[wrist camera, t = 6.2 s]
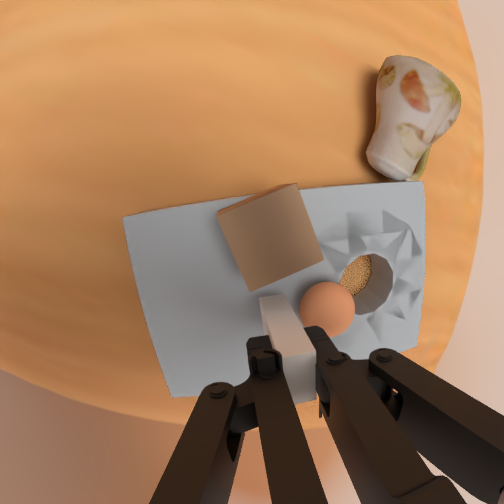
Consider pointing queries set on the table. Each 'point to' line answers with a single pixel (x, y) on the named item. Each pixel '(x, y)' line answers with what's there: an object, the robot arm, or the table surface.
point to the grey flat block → (293, 287)
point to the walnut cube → (270, 235)
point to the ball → (327, 308)
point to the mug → (410, 116)
